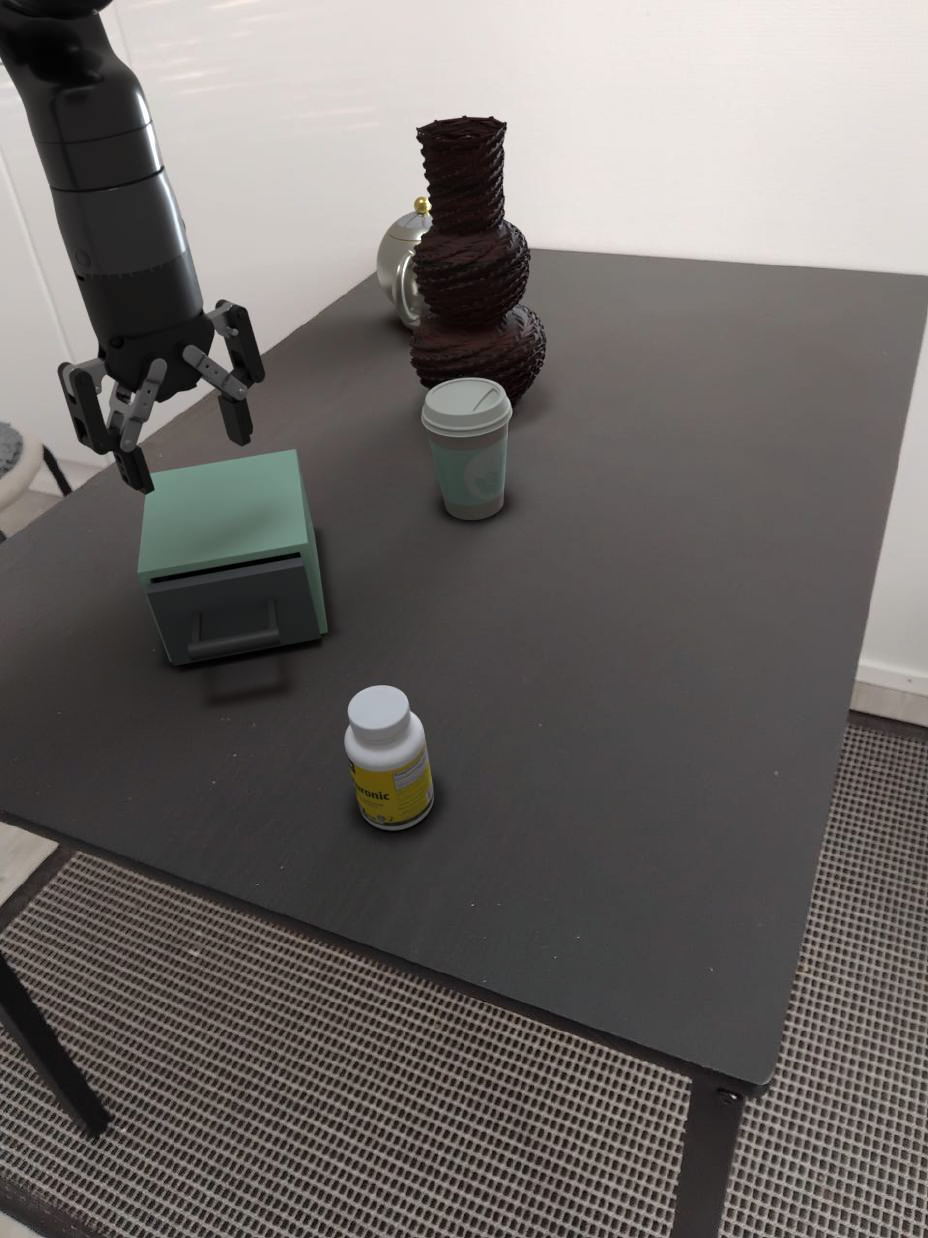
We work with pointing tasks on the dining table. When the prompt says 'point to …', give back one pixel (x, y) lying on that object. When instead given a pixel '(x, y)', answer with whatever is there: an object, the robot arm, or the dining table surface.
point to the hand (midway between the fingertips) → (193, 465)
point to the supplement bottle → (388, 759)
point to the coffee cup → (469, 444)
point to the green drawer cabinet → (228, 520)
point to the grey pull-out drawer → (234, 608)
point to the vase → (472, 265)
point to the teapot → (404, 263)
